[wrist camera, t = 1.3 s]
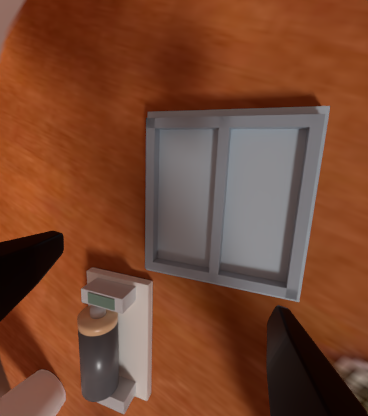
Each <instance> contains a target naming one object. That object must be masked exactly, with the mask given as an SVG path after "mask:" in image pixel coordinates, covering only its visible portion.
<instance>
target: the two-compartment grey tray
mask: <svg viewBox="0 0 368 416" xmlns="http://www.w3.org/2000/svg"><path fill="white" fill-rule="evenodd" d="M329 110H330V106H313V107H282V108H251V109H219V110H188V111H157V112H148V118H146V208H145V268H146V270H150V271H155V272H159V273H164V274H169V275H173V276H178V277H183V278H188V279H192V280H197V281H202V282H207V283H211V284H216V285H221V286H226V287H230V288H235V289H240V290H244V291H249V292H254V293H259V294H263V295H268V296H273V297H278V298H282V299H287V300H292V301H296V302H299V300H300V293H301V287H302V281H303V274H304V268H305V262H306V255H307V249H308V243H309V237H310V230H311V224H312V218H313V211H314V205H315V199H316V192H317V186H318V180H319V174H320V167H321V161H322V155H323V148H324V142H325V136H326V129H327V123H328V117H329Z"/></svg>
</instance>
